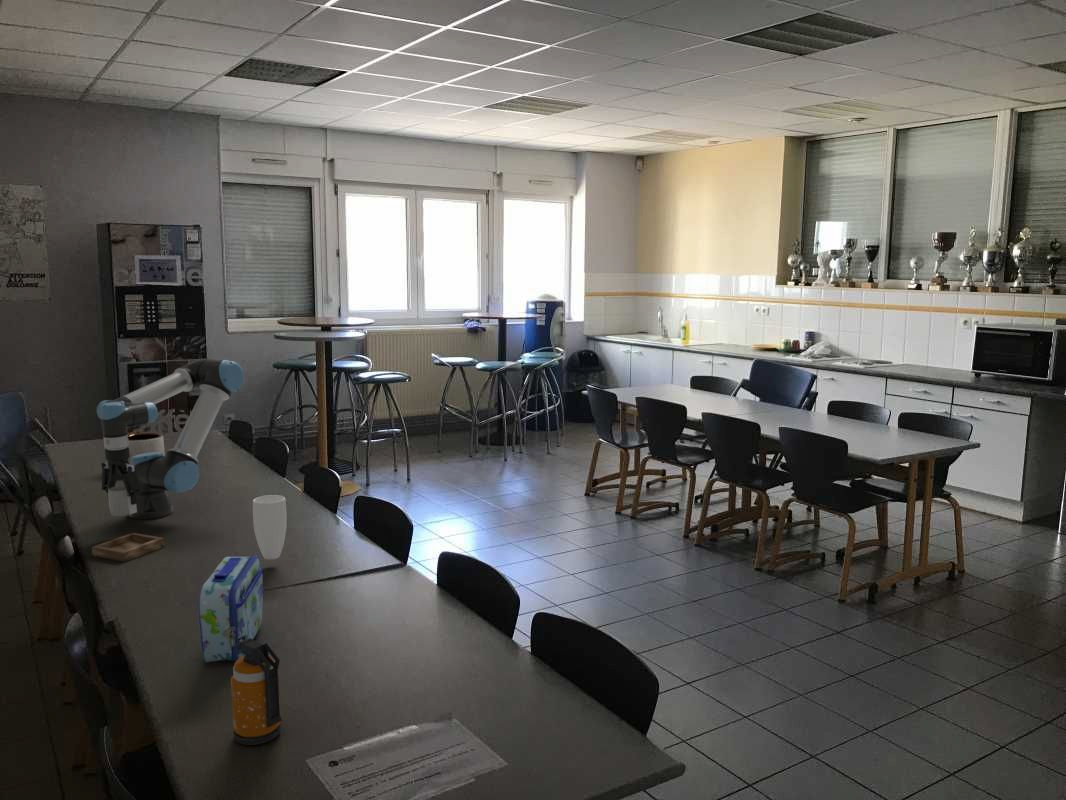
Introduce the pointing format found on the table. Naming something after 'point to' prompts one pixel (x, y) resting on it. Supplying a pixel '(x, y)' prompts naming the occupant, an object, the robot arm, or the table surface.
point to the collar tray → (128, 547)
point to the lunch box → (230, 607)
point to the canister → (255, 694)
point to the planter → (145, 444)
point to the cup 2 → (270, 524)
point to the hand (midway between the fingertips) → (123, 511)
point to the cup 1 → (118, 501)
